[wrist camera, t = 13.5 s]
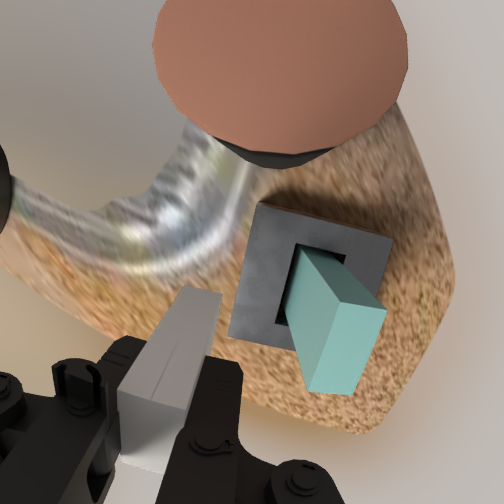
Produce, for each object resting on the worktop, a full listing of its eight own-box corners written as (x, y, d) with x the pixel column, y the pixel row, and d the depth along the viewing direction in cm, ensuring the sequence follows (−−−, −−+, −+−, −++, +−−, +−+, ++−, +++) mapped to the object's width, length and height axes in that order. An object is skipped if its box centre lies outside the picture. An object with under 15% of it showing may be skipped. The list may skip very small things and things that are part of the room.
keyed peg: (297, 244, 30) (339, 301, 16) (327, 250, 30) (387, 310, 17) (282, 302, 31) (307, 391, 18) (311, 307, 32) (351, 394, 18)
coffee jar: (354, 100, 27) (443, 20, 9) (296, 192, 29) (329, 210, 12) (258, 44, 26) (240, -80, 9) (198, 133, 29) (105, 80, 11)
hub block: (232, 318, 32) (227, 336, 28) (258, 201, 30) (256, 204, 26) (344, 341, 32) (351, 360, 28) (379, 231, 29) (393, 239, 26)
